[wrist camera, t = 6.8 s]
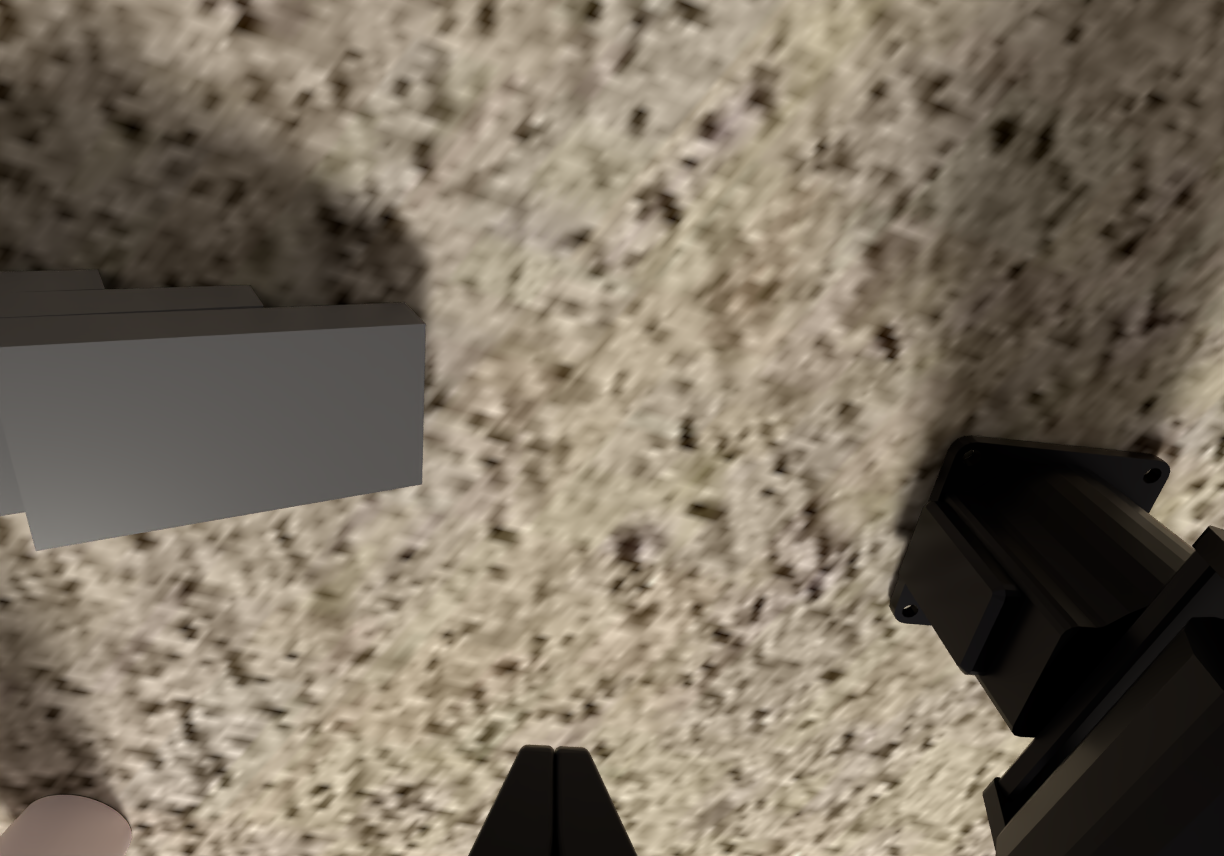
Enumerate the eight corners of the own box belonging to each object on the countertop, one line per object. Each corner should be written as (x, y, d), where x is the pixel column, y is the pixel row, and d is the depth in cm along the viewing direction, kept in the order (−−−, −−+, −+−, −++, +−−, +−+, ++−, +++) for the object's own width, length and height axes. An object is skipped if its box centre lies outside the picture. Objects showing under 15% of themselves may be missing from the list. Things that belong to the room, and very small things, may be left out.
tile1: (425, 323, 17) (-18, 348, 13) (421, 484, 19) (35, 550, 15) (404, 302, 18) (-8, 318, 14) (403, 455, 20) (40, 510, 16)
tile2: (263, 305, 17) (-253, 329, 12) (276, 470, 18) (-167, 543, 14) (249, 284, 18) (-228, 299, 13) (262, 442, 20) (-151, 502, 15)
